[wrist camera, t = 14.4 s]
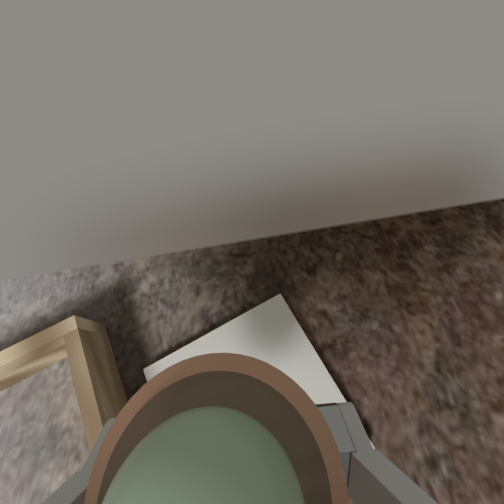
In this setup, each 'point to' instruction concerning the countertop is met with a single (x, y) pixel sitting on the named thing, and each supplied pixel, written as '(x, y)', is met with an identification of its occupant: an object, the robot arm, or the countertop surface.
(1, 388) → the brown wooden rectangular frame
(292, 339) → the paving tile
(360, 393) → the countertop surface
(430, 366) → the countertop surface
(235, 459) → the peach bottle
